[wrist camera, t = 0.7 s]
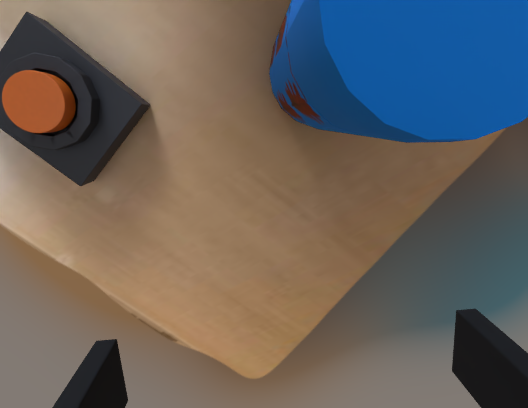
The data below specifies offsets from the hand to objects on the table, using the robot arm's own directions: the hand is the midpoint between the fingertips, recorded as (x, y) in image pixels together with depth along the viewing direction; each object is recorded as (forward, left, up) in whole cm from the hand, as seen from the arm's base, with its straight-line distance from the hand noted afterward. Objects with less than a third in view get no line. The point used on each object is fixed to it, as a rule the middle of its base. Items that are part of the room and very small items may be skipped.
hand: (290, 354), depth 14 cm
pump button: (-10, -19, -22) cm, 30 cm away
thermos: (-13, +6, -26) cm, 30 cm away
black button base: (-10, -19, -26) cm, 34 cm away
